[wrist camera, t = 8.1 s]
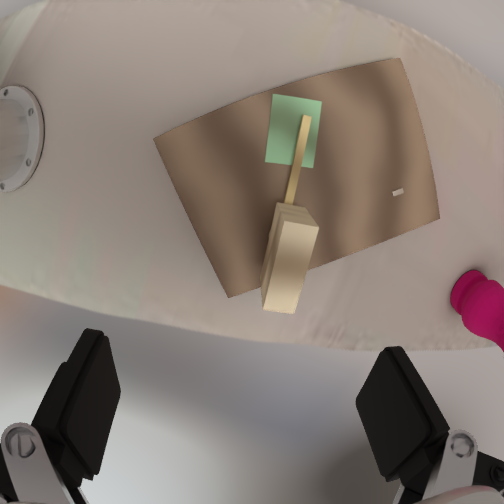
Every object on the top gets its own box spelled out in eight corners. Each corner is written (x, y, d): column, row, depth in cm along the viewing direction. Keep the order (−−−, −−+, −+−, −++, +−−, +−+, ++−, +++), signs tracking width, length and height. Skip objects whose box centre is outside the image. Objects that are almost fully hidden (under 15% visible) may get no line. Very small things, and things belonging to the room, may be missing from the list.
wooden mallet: (283, 271, 29) (293, 313, 22) (259, 267, 29) (262, 309, 22) (319, 119, 23) (345, 117, 17) (292, 112, 23) (309, 107, 17)
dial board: (229, 290, 32) (228, 299, 30) (157, 138, 25) (152, 139, 24) (432, 214, 28) (440, 219, 27) (393, 60, 22) (401, 57, 21)
